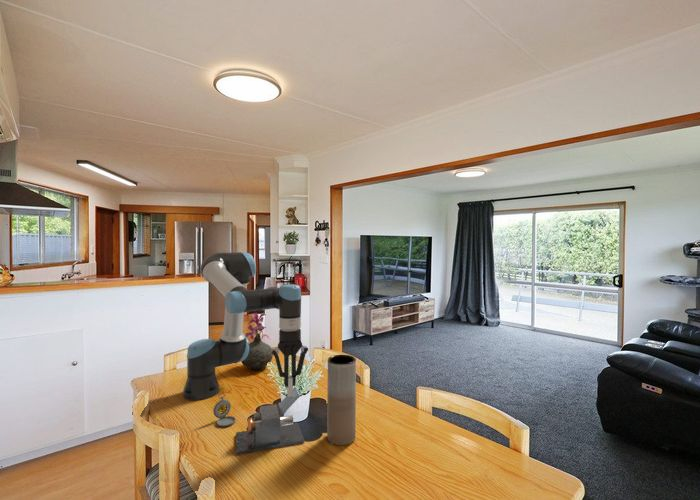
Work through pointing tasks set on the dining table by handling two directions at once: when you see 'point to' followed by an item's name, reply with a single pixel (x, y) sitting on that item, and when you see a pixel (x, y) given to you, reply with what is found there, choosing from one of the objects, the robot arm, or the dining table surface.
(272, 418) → the hitch block
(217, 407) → the pocket watch
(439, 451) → the dining table surface
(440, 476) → the dining table surface
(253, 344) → the vase
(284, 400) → the keeper
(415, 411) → the dining table surface
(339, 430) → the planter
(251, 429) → the pin
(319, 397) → the dining table surface
